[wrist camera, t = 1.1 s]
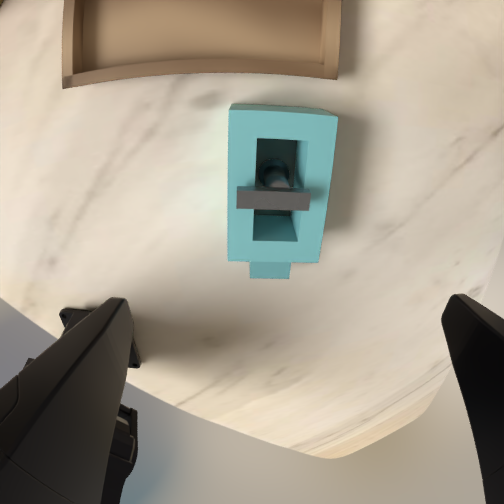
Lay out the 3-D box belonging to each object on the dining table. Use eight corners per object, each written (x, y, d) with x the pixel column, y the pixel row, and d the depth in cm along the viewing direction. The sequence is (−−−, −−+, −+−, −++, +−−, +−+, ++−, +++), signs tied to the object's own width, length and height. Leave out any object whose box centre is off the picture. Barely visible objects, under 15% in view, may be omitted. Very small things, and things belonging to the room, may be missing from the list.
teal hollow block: (304, 261, 21) (312, 290, 19) (229, 259, 21) (227, 290, 18) (322, 109, 16) (338, 116, 13) (231, 103, 16) (228, 109, 13)
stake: (295, 188, 19) (307, 219, 15) (237, 186, 18) (236, 217, 15) (297, 159, 18) (312, 184, 14) (238, 157, 18) (236, 181, 14)
